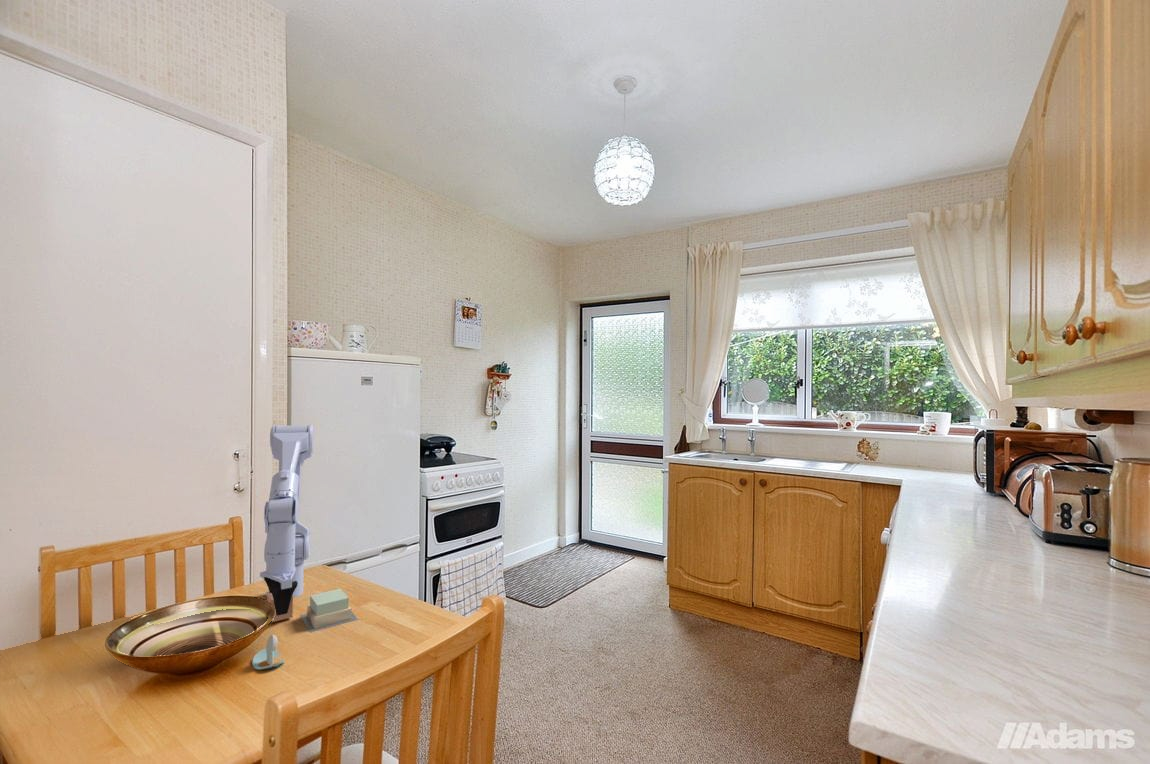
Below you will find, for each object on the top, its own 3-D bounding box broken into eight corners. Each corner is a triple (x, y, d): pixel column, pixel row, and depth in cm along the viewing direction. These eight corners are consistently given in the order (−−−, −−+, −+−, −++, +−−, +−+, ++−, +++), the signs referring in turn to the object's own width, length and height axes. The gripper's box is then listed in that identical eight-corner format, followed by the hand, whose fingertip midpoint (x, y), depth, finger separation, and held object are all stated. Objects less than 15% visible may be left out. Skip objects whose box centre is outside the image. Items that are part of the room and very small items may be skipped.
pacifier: (251, 685, 94) (287, 671, 98) (250, 651, 94) (286, 639, 98) (241, 668, 99) (276, 656, 103) (240, 636, 99) (275, 625, 103)
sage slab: (310, 605, 119) (310, 595, 119) (340, 598, 123) (340, 588, 123) (317, 616, 114) (317, 605, 114) (348, 608, 118) (348, 597, 118)
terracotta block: (266, 615, 117) (267, 593, 117) (288, 610, 120) (288, 588, 120) (270, 622, 114) (270, 600, 114) (292, 617, 117) (292, 595, 117)
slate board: (299, 619, 119) (300, 615, 119) (345, 608, 125) (345, 604, 125) (310, 636, 111) (310, 632, 111) (358, 623, 117) (358, 619, 117)
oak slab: (306, 615, 119) (307, 605, 119) (341, 607, 124) (341, 597, 124) (314, 628, 113) (315, 617, 113) (351, 618, 118) (351, 608, 118)
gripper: (255, 545, 120) (254, 603, 120) (266, 563, 109) (264, 627, 109) (289, 540, 125) (288, 595, 125) (302, 556, 113) (301, 617, 113)
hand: (279, 609), depth 117 cm, fingers closed on terracotta block, 4 cm apart
